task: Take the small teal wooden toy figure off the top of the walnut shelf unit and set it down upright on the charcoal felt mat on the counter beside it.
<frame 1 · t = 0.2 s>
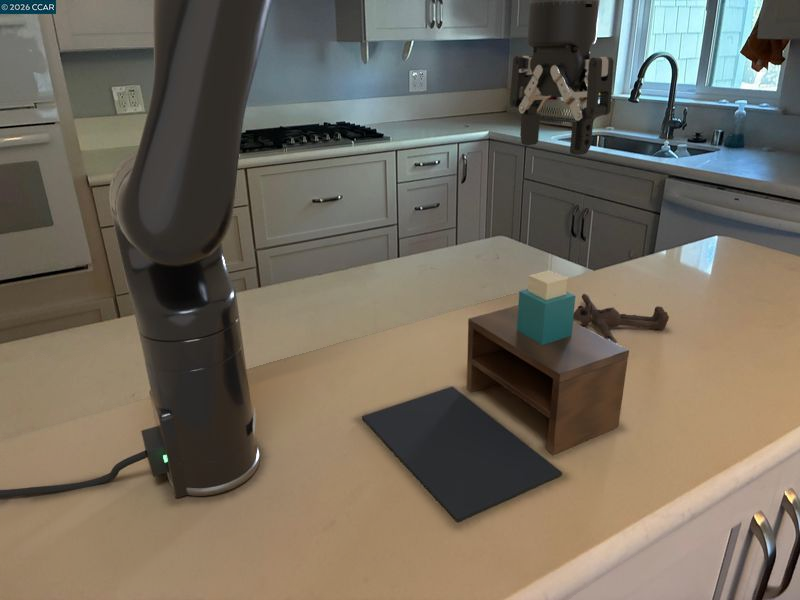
hand: (553, 149, 74), 29 cm above the worktop, tool pointing down, fingers open, 8 cm apart
mat: (454, 445, 68), on the worktop
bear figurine: (614, 328, 95), on the worktop
toy: (544, 333, 71), point 10 cm above the worktop, touching shelf
shelf: (538, 407, 75), on the worktop
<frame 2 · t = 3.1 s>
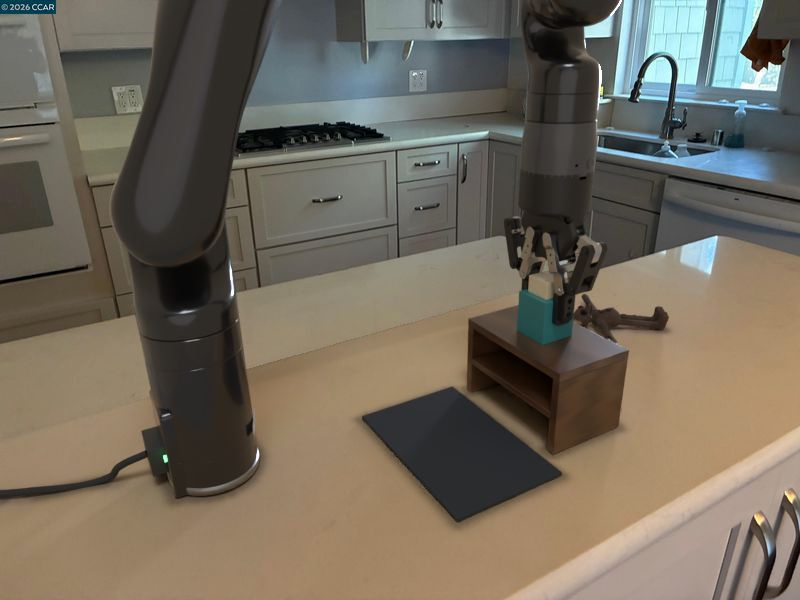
hand: (545, 314, 70), 12 cm above the worktop, tool pointing down, fingers closed on toy, 4 cm apart
toy: (543, 333, 71), point 10 cm above the worktop, touching gripper, shelf
everything else where it was.
when the fingers open (3 cm above the worktop, at t = 11.4 s): toy stays where it is, resting on mat.
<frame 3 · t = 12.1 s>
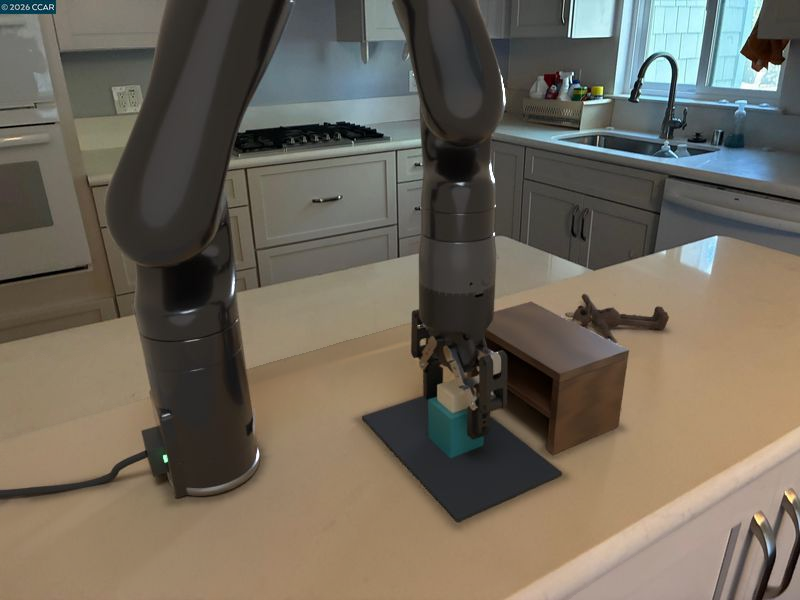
hand: (454, 415, 67), 4 cm above the worktop, tool pointing down, fingers open, 8 cm apart
toy: (455, 441, 68), resting on mat
everything else where it was.
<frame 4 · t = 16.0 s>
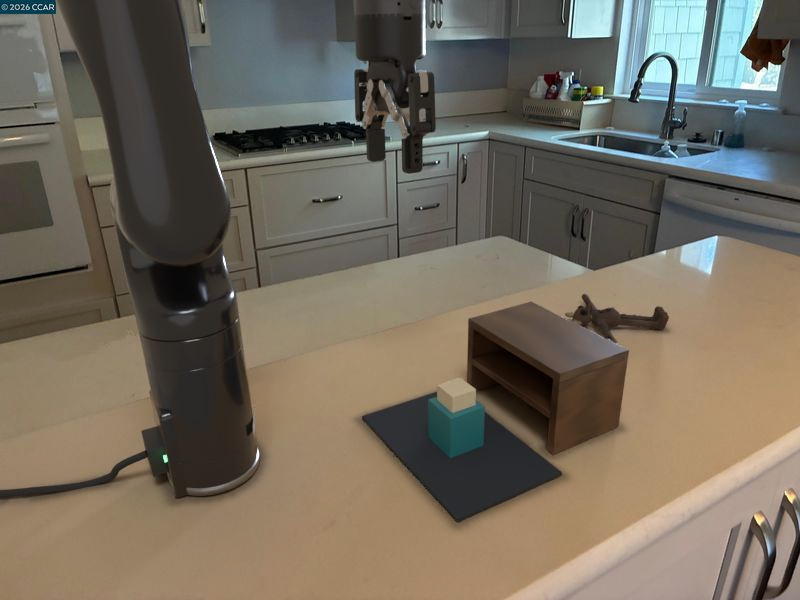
hand: (393, 166, 71), 28 cm above the worktop, tool pointing down, fingers open, 8 cm apart
nothing on the worktop moved.
at the end: toy inside the target area on the mat (0.2 cm from its centre), point 0.4 cm above the mat's base; toy tilted 0°; the gripper is holding nothing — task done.
